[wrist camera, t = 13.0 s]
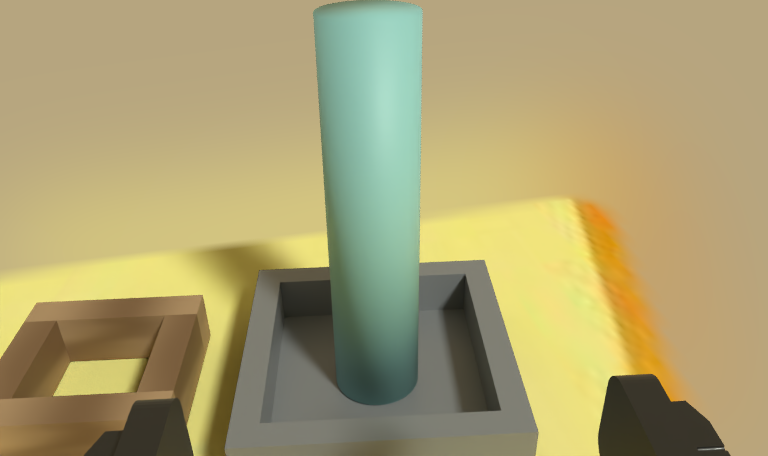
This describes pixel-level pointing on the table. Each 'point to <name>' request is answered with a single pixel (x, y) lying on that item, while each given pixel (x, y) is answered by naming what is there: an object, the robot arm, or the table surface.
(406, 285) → the dowel
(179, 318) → the collar block
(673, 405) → the robot arm
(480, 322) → the tray
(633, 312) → the table surface
